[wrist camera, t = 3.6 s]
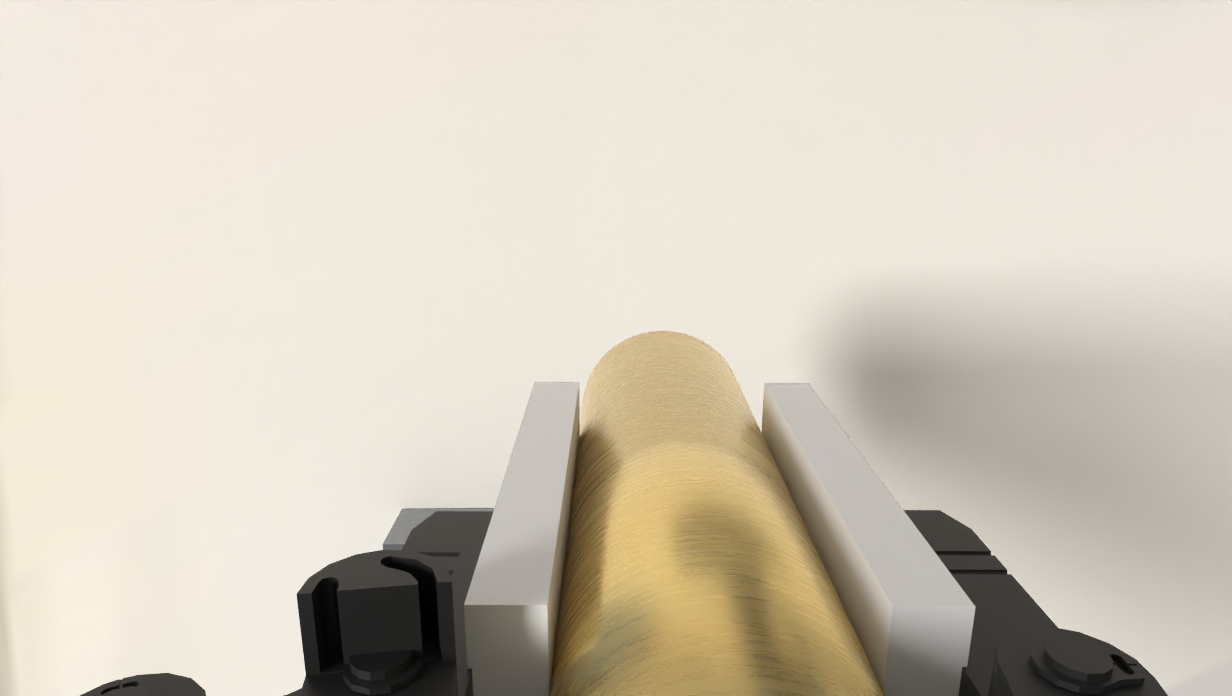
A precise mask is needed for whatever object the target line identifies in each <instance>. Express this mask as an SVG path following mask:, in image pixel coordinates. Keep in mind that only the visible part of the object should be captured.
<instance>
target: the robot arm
mask: <svg viewBox="0 0 1232 696" xmlns="http://www.w3.org/2000/svg"><path fill="white" fill-rule="evenodd" d="M762 435H763V437H764V440H765V442H766V444H767V446H768V448H769V450H770V452H771V454H772V456H773V459H774V461H775V463H776V465H777V467H778V469H779V471H780V473H781V476H782V478H783V480H784V482H785V484H786V486H787V488H788V490H789V493H790V495H791V497H792V499H793V501H794V503H795V505H796V507H797V510H798V512H799V514H800V516H801V518H802V520H803V522H804V524H805V526H806V529H807V531H808V533H809V535H810V537H811V539H812V541H813V543H814V546H815V548H816V550H817V552H818V554H819V556H820V558H821V560H822V563H823V565H824V567H825V569H826V571H827V573H828V575H829V577H830V580H831V582H832V584H833V586H834V588H835V590H836V592H837V594H838V596H839V599H840V601H841V603H842V605H843V607H844V609H845V611H846V613H847V616H848V618H849V620H850V622H851V624H852V626H853V628H854V630H855V633H856V635H857V637H858V639H859V641H860V643H861V645H862V647H863V650H864V652H865V654H866V656H867V658H868V660H869V662H870V664H871V666H872V669H873V671H874V673H875V675H876V677H877V679H878V681H879V683H880V686H881V688H882V690H883V692H884V694H885V696H1168V695H1167V694H1166V693H1165V691H1164V690H1163V688H1162V687H1161V686H1160V684H1159V683H1158V682H1157V680H1156V679H1155V678H1154V677H1153V676H1152V675H1151V674H1150V673H1149V672H1148V671H1147V670H1146V669H1145V668H1144V667H1143V666H1142V665H1141V664H1140V663H1139V662H1138V661H1137V660H1136V659H1134V658H1133V657H1131V656H1129V655H1128V654H1126V653H1124V652H1122V651H1121V650H1119V649H1117V648H1116V647H1114V646H1112V645H1111V644H1109V643H1106V642H1104V641H1101V640H1098V639H1096V638H1093V637H1090V636H1088V635H1085V634H1082V633H1080V632H1075V631H1070V630H1064V629H1059V628H1058V627H1057V626H1056V625H1055V624H1054V623H1053V622H1052V621H1051V619H1050V618H1049V617H1048V616H1047V615H1046V614H1045V613H1044V611H1043V610H1042V609H1041V608H1040V607H1039V606H1038V605H1037V604H1036V602H1035V601H1034V600H1033V599H1032V598H1031V597H1030V596H1029V594H1028V593H1027V592H1026V591H1025V590H1024V589H1023V588H1022V586H1021V585H1020V584H1019V583H1018V582H1017V581H1016V580H1015V578H1014V577H1013V576H1012V575H1007V569H1006V568H1005V567H1004V566H1003V565H1002V564H1001V562H1000V561H999V560H998V559H997V558H996V557H995V556H991V551H990V550H989V549H988V548H987V547H986V545H985V544H984V543H983V542H982V541H981V540H980V539H979V537H978V536H977V535H976V534H975V533H974V532H973V531H972V529H970V528H968V527H967V526H965V525H963V524H962V523H960V522H958V521H957V520H955V519H953V518H951V517H950V516H948V515H946V514H945V513H943V512H941V511H940V510H903V509H902V507H901V506H900V505H899V503H898V502H897V501H896V499H895V498H894V497H893V495H892V494H891V493H890V491H889V490H888V489H887V487H886V486H885V485H884V483H883V482H882V481H881V479H880V478H879V477H878V475H877V474H876V472H875V471H874V470H873V468H872V467H871V466H870V464H869V463H868V462H867V460H866V459H865V458H864V456H863V455H862V454H861V452H860V451H859V450H858V448H857V447H856V446H855V444H854V443H853V442H852V440H851V439H850V438H849V436H848V435H847V434H846V432H845V431H844V430H843V428H842V427H841V425H840V424H839V423H838V421H837V420H836V419H835V417H834V416H833V415H832V413H831V412H830V411H829V409H828V408H827V407H826V405H825V404H824V403H823V401H822V400H821V399H820V397H819V396H818V395H817V393H816V392H815V391H814V389H813V388H812V387H811V385H810V384H809V383H764V400H763V417H762ZM579 438H580V420H579V382H534V385H533V389H532V392H531V395H530V398H529V401H528V404H527V407H526V411H525V414H524V417H523V420H522V423H521V426H520V430H519V433H518V436H517V439H516V442H515V445H514V448H513V452H512V455H511V458H510V461H509V464H508V467H507V471H506V474H505V477H504V480H503V483H502V486H501V489H500V493H499V496H498V499H497V502H496V505H495V508H494V511H436V512H435V513H433V514H432V515H431V516H429V517H428V518H427V519H425V520H424V521H423V522H421V523H420V524H419V525H417V526H416V527H415V528H413V529H412V530H411V532H410V534H409V536H408V538H407V540H406V542H405V544H404V546H403V548H402V550H381V551H375V552H369V553H363V554H357V555H354V556H351V557H348V558H345V559H343V560H340V561H337V562H335V563H332V564H329V565H328V566H326V567H325V568H323V569H322V570H320V571H319V572H317V573H316V574H314V575H313V576H311V577H310V578H308V580H307V581H306V582H305V584H304V585H303V586H302V588H301V589H300V590H299V592H298V593H297V601H298V609H299V618H300V627H301V635H302V644H303V653H304V661H305V670H306V677H305V681H304V684H303V687H302V689H299V690H297V691H295V692H293V693H290V694H288V695H284V696H549V695H550V686H551V678H552V669H553V661H554V652H555V644H556V635H557V627H558V618H559V609H560V601H561V592H562V584H563V575H564V567H565V558H566V550H567V541H568V532H569V524H570V515H571V507H572V498H573V490H574V481H575V473H576V464H577V456H578V447H579ZM80 696H206V693H205V690H204V689H203V688H202V687H200V686H199V685H198V684H197V683H196V682H195V681H194V680H193V679H191V678H187V677H183V676H179V675H174V674H170V673H161V674H147V675H136V676H132V677H127V678H123V679H122V680H116V681H113V682H110V683H107V684H104V685H101V686H99V687H97V688H95V689H93V690H91V691H89V692H87V693H85V694H82V695H80Z"/></svg>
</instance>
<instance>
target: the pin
mask: <svg viewBox="0 0 1232 696" xmlns="http://www.w3.org/2000/svg"><path fill="white" fill-rule="evenodd" d="M549 696H885V694H884V692H883V690H882V688H881V686H880V683H879V681H878V679H877V677H876V675H875V673H874V671H873V669H872V666H871V664H870V662H869V660H868V658H867V656H866V654H865V652H864V650H863V647H862V645H861V643H860V641H859V639H858V637H857V635H856V633H855V630H854V628H853V626H852V624H851V622H850V620H849V618H848V616H847V613H846V611H845V609H844V607H843V605H842V603H841V601H840V599H839V596H838V594H837V592H836V590H835V588H834V586H833V584H832V582H831V580H830V577H829V575H828V573H827V571H826V569H825V567H824V565H823V563H822V560H821V558H820V556H819V554H818V552H817V550H816V548H815V546H814V543H813V541H812V539H811V537H810V535H809V533H808V531H807V529H806V526H805V524H804V522H803V520H802V518H801V516H800V514H799V512H798V510H797V507H796V505H795V503H794V501H793V499H792V497H791V495H790V493H789V490H788V488H787V486H786V484H785V482H784V480H783V478H782V476H781V473H780V471H779V469H778V467H777V465H776V463H775V461H774V459H773V456H772V454H771V452H770V450H769V448H768V446H767V444H766V442H765V440H764V437H763V435H762V433H761V431H760V429H759V427H758V425H757V423H756V420H755V418H754V416H753V414H752V412H751V410H750V408H749V406H748V403H747V401H746V399H745V397H744V395H743V393H742V391H741V389H740V386H739V384H738V382H737V380H736V378H735V376H734V374H733V372H732V370H731V368H730V367H729V365H728V364H727V362H726V361H725V360H724V358H723V357H722V356H721V355H720V354H719V353H718V352H717V351H716V350H714V349H713V348H712V347H711V346H709V345H708V344H706V343H705V342H703V341H701V340H699V339H697V338H695V337H692V336H689V335H686V334H683V333H678V332H670V331H656V332H649V333H643V334H640V335H637V336H634V337H631V338H629V339H627V340H625V341H623V342H621V343H620V344H618V345H616V346H615V347H613V348H612V349H611V350H610V351H609V352H608V353H606V354H605V355H604V357H603V358H602V359H601V360H600V361H599V362H598V364H597V365H596V367H595V368H594V369H593V371H592V373H591V375H590V377H589V380H588V382H587V385H586V388H585V393H584V399H583V407H582V416H581V424H580V438H579V447H578V456H577V464H576V473H575V481H574V490H573V498H572V507H571V515H570V524H569V532H568V541H567V550H566V558H565V567H564V575H563V584H562V592H561V601H560V609H559V618H558V627H557V635H556V644H555V652H554V661H553V669H552V678H551V686H550V695H549Z"/></svg>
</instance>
